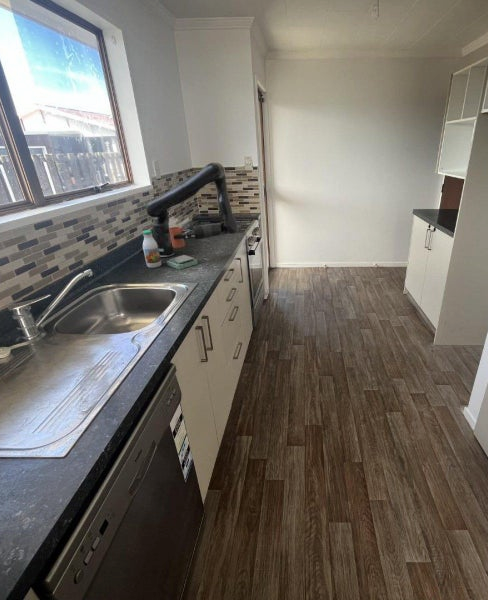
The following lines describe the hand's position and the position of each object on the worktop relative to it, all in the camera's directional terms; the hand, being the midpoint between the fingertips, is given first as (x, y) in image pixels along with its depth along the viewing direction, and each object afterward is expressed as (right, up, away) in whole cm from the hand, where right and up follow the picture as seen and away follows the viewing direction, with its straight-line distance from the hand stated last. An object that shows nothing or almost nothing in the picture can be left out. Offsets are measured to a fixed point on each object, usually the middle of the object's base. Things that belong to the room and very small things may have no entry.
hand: (172, 236), depth 178 cm
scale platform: (+2, -12, +8) cm, 14 cm away
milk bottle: (-13, -16, +8) cm, 22 cm away
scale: (+2, -15, +9) cm, 17 cm away
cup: (+2, -5, +4) cm, 6 cm away
